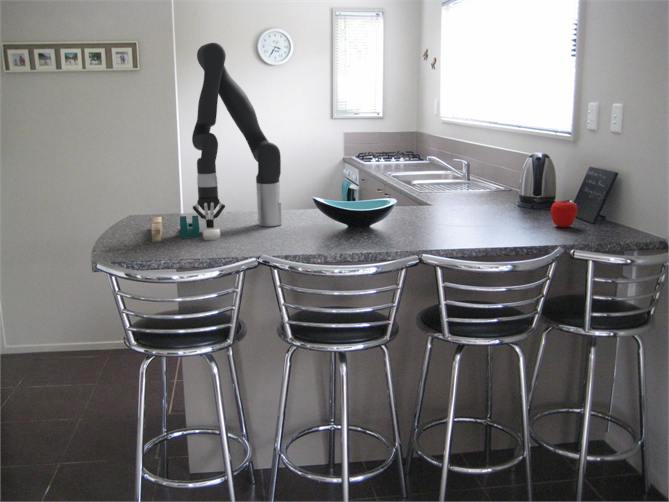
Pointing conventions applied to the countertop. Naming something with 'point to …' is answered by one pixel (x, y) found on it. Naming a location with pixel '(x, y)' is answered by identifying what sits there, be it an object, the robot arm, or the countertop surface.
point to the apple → (563, 213)
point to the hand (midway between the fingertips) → (210, 228)
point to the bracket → (189, 227)
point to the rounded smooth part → (211, 233)
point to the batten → (157, 229)
